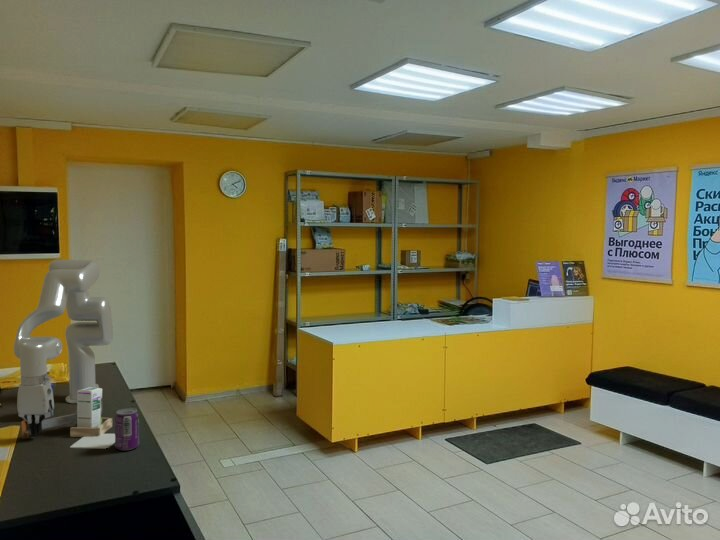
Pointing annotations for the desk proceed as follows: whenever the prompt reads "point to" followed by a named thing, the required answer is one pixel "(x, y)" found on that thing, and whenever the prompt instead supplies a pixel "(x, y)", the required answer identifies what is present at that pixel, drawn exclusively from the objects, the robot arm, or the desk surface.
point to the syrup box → (89, 407)
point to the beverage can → (126, 429)
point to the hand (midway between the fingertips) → (36, 433)
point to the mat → (95, 441)
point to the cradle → (92, 429)
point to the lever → (50, 423)
